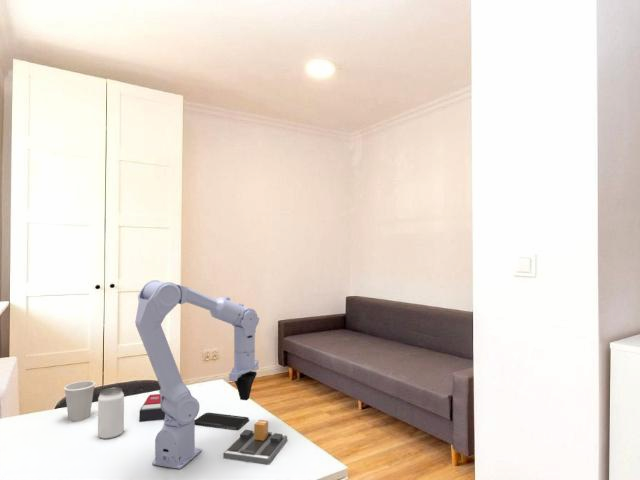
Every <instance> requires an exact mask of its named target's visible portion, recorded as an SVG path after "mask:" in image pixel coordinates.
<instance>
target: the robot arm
mask: <svg viewBox="0 0 640 480" xmlns="http://www.w3.org/2000/svg"><path fill="white" fill-rule="evenodd" d="M137 300H138V303H137V304H138V305H137V309H136V317H135V327H136V329H137V332H138V334H139V337H140V340H141V341H142V344H143V347H144V350H145V351H146V355H147V357H148V359H149V361H150V364H151V367H152V369H153V372H154V374H155V376H156V380H157V382H158V385H159V387H160V388H159V391H158V394H160V396H161V403H160V406H161V409H162V411H163V412H164V413H165V418H164V420H163V422H164V423H163V425H162V428H161V430H160V431H158V432H157V434H156V436H155V439H154V442H155V443H154V445H155V446H154V449H155V450H154V460H153V461H152V462H151V465H153V466H159V467H167V468H171V469H182V468H183V467H185V466H186V465H187V464H188V463H189V462H190V461H191V460H193V459H194V458H195V457H196V456H198V454H200V453H201V452H202V449H203V448H202V447H201V448H200V447H196V446H195V443H196V442H195V441H196V439H195V437H196V436H195V435H196V434H195V433H196V432H195V431H196V430H195V429H196V427H195V426H196V425H195V420H196V419H197V416H198V414H199V412H200V403H199V401H198V399H197V398H195V397H194V396H193V395H192V393H191V390H190V389H189V388H188V386H187V385H186V384H185V382H184V381H183V378H182V377H181V373H180V371H179V368H178V365H177V363H176V361H175V358H174V355H173V353H172V351H171V347H170V344H169V343H168V340H167V337H166V334H165V331H164V330H163V327H162V323H163V321H164V320H165V318H166V316H167V315H169V314H170V312H171V311H172V310H173V309H174V308H175V307H176V306H177V305H178V304H179V305H183V304H186V303H187V304H191V305H194V306H196V307H199V308H201V309H202V308H203V309H205V310H207V311H209V313H210V315H211V317H212V318H214V319H217V320H220V321H222V322H225V323H228V324H230V325H232V327H233V328H234V329H233V336H234V338H233V341H234V342H233V343H234V344H233V345H234V346H233V348H234V349H233V353H234V354H233V360H234V361H233V365H234V366H233V367H232V370H231V371H230V372H229V373H228V381H231V382H234V383H235V385H236V389H237V393H238V396H239V399H240V401H248V400H249V399H250V397H251V391H252V386H253V383H254V381H255V379H256V377H257V371H258V370H259V369H260V367H259V366H260V365H259V359H256V350H255V349H256V340H255V339H256V330H257V327H258V325H259V322H260V317H258V314H257V312H256V310H255V309H253V308H249V307H245V306H244V304H243V303H240V302H239V303H237V302H234V301H232V300H231V297H229V296H223V297H222V296H220V297H217V298H212V297H211V296H208V295H206V294H204V293H201V292H199V291H198V290H195V289H194V288H192V287H188V286H186V285H182V284H176V283H174V282H171V281H170V282H169V281H160V280H158V279H157V280H156V279H154V280H151V281H147V283H145V284H144V285H143V287H142V288H141V290H140V291H139V293H138V295H137Z"/></svg>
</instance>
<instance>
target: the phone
mask: <svg viewBox="0 0 640 480" xmlns="http://www.w3.org/2000/svg"><path fill="white" fill-rule="evenodd" d="M249 421H250V419H249V417H248V416H240V415H231V414H223V413H218V412H217V413H216V412H206V413H203V414H202V415H200V416H198V417H196V418H195V426H198V427H206V428H214V429H221V430H230V431H239V430H241V429H242V428H243V427H244V426H245V425H246V424H247V423H248V422H249Z"/></svg>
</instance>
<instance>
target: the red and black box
mask: <svg viewBox="0 0 640 480" xmlns="http://www.w3.org/2000/svg"><path fill="white" fill-rule="evenodd" d="M160 403H161V396H160V393H157V394H155V393H154V394H149V395H148V396H147V398H146V399H145V401H144V403H143V404H142V405H141V407H140V409H139V423H145V422H155V421H164V418H165V413H164V412H163V411H162V409H161V406H160Z"/></svg>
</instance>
